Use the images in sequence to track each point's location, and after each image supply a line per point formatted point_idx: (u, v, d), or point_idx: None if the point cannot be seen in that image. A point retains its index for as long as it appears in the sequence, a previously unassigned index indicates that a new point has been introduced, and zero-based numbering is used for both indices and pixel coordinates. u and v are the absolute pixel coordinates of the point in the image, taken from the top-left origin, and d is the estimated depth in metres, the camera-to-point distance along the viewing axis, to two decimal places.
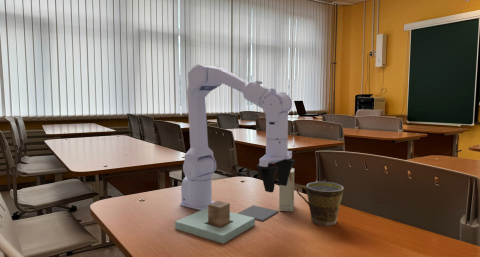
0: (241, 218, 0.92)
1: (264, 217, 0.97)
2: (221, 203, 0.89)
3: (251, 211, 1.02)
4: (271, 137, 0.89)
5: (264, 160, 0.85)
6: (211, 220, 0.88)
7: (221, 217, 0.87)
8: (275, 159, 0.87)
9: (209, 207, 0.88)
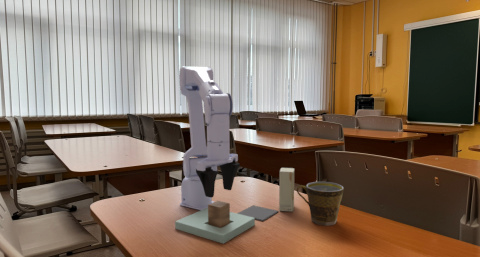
0: (241, 218, 0.92)
1: (264, 217, 0.97)
2: (221, 203, 0.89)
3: (251, 211, 1.02)
4: (207, 139, 0.86)
5: (201, 164, 0.82)
6: (211, 220, 0.88)
7: (221, 216, 0.87)
8: (214, 163, 0.84)
9: (209, 207, 0.88)
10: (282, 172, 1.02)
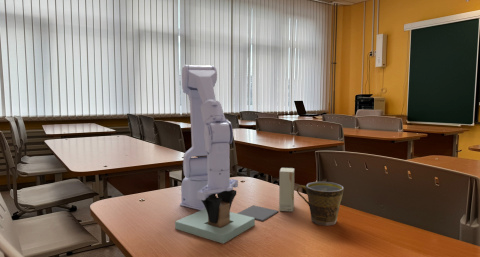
0: (241, 218, 0.92)
1: (264, 217, 0.97)
2: (221, 203, 0.89)
3: (251, 211, 1.02)
4: (207, 167, 0.87)
5: (201, 193, 0.82)
6: None
7: (221, 216, 0.87)
8: (214, 191, 0.84)
9: None
10: (282, 172, 1.02)
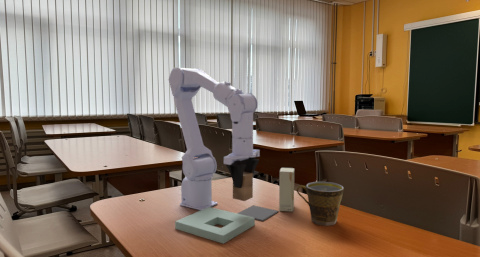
0: (241, 218, 0.92)
1: (264, 217, 0.97)
2: (245, 173, 0.96)
3: (251, 211, 1.02)
4: (235, 136, 0.92)
5: (228, 158, 0.89)
6: (236, 188, 0.94)
7: (245, 185, 0.93)
8: (239, 157, 0.90)
9: None
10: (282, 172, 1.02)
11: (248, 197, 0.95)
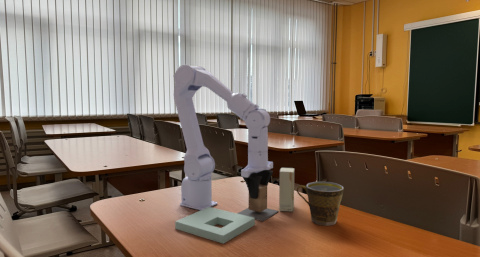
0: (241, 218, 0.92)
1: (264, 217, 0.97)
2: (260, 185, 1.01)
3: (251, 211, 1.02)
4: (254, 150, 0.97)
5: (245, 171, 0.94)
6: (252, 200, 1.00)
7: (260, 197, 0.99)
8: (256, 170, 0.96)
9: None
10: (282, 172, 1.02)
11: (263, 208, 1.00)
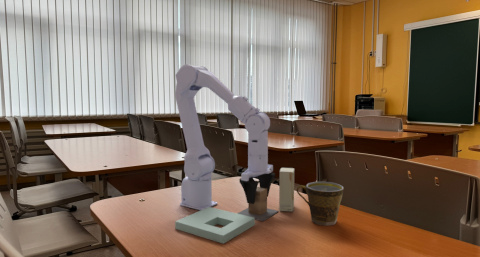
0: (241, 218, 0.92)
1: (264, 217, 0.97)
2: (260, 188, 1.01)
3: None
4: (254, 154, 0.97)
5: (245, 175, 0.94)
6: None
7: (260, 200, 0.99)
8: (255, 174, 0.96)
9: None
10: (282, 172, 1.02)
11: (263, 211, 1.00)
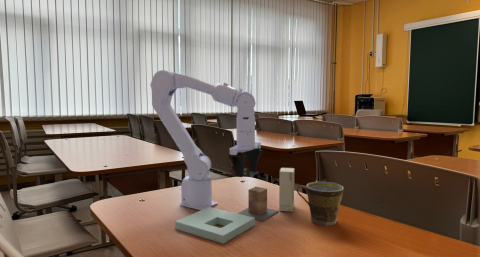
0: (241, 218, 0.92)
1: (264, 217, 0.97)
2: (260, 188, 1.01)
3: None
4: (245, 130, 1.04)
5: (233, 149, 1.01)
6: (252, 203, 1.00)
7: (260, 200, 0.99)
8: (243, 148, 1.03)
9: (249, 192, 1.00)
10: (282, 172, 1.02)
11: (263, 211, 1.00)
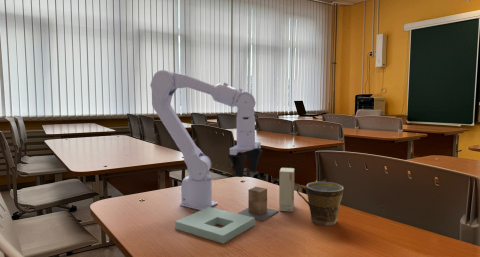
0: (241, 218, 0.92)
1: (264, 217, 0.97)
2: (260, 188, 1.01)
3: None
4: (245, 130, 1.04)
5: (233, 149, 1.01)
6: (252, 203, 1.00)
7: (260, 200, 0.99)
8: (243, 148, 1.03)
9: (249, 192, 1.00)
10: (282, 172, 1.02)
11: (263, 211, 1.00)
